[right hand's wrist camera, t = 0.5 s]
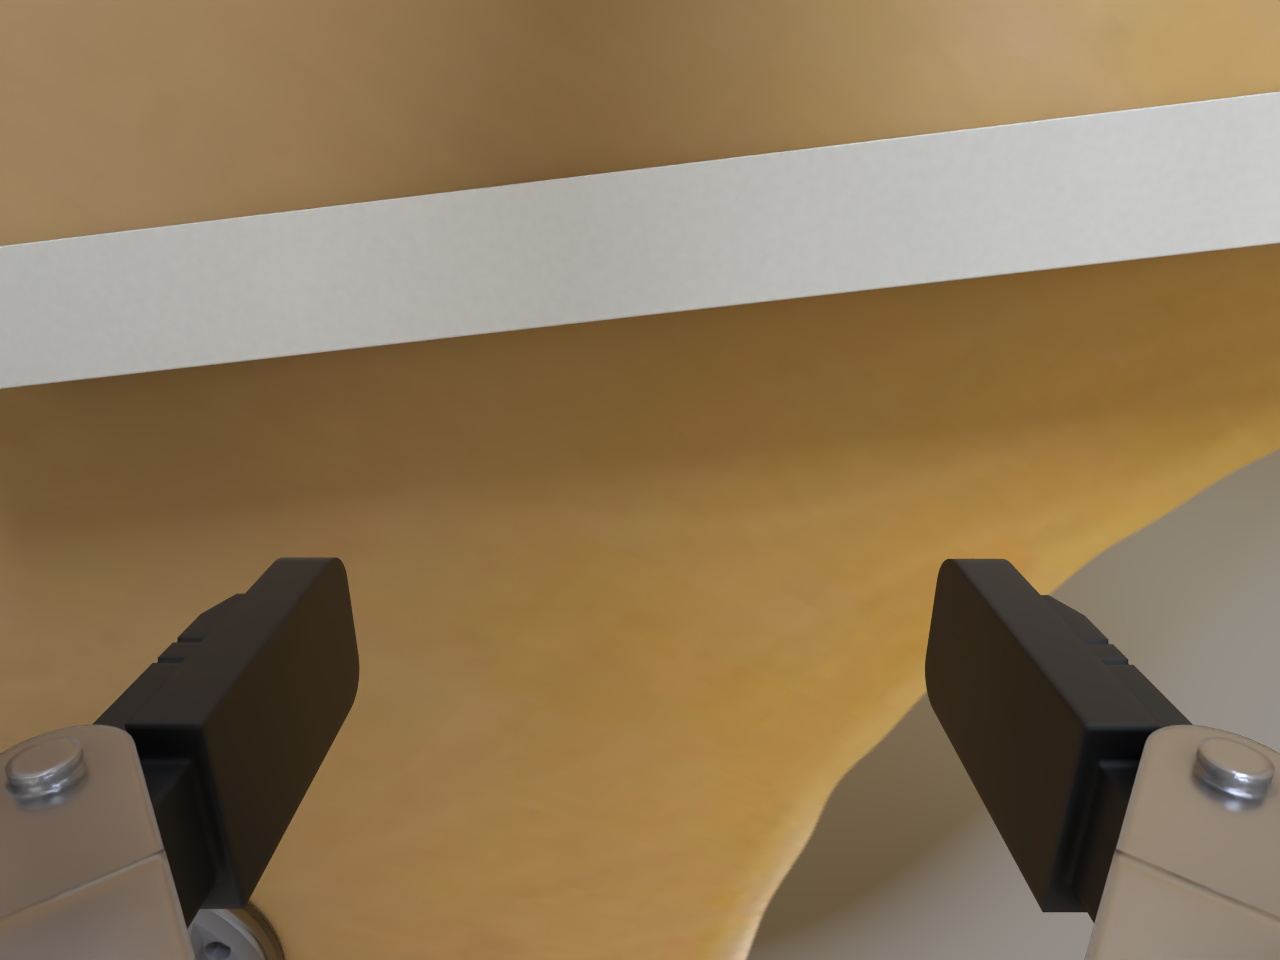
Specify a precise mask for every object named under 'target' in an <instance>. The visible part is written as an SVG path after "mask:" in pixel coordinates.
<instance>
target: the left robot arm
mask: <svg viewBox="0 0 1280 960" xmlns="http://www.w3.org/2000/svg"><path fill="white" fill-rule="evenodd" d="M187 930H188V934H189V938H190V941H191V945H192V948H193V952H194V955H195V959H196V960H284V959H283V955H282V951H281V949H280V946H279V944H278V941H277V939H276V937H275V936H274V934H273V932H272V930H271V929H270V928H269V926H268V925H267V923H266V922H265V921H264V920H263V918H262V917H261V916H260V915H259V914H258V913H257V912H256V911H255V910H254V909H253V908H252V907H251V906H250V905H249V904H248V903H247V904H246V906H245V908H244V909H199V911H198V913H197V914H196V916H195V918H194V919H193V921H192V923H191V924H190V926H189V928H188V929H187Z"/></svg>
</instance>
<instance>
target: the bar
mask: <svg viewBox="0 0 1280 960" xmlns="http://www.w3.org/2000/svg"><path fill="white" fill-rule="evenodd" d="M1278 243H1280V92H1272V93H1264V94H1256V95H1247V96H1239V97H1231V98H1222V99H1214V100H1206V101H1198V102H1189V103H1181V104H1173V105H1165V106H1156V107H1148V108H1140V109H1131V110H1123V111H1115V112H1107V113H1098V114H1090V115H1082V116H1073V117H1065V118H1057V119H1049V120H1040V121H1032V122H1024V123H1016V124H1007V125H999V126H991V127H982V128H974V129H966V130H958V131H949V132H941V133H933V134H924V135H916V136H908V137H900V138H891V139H883V140H875V141H867V142H858V143H850V144H842V145H833V146H825V147H817V148H809V149H800V150H792V151H784V152H775V153H767V154H759V155H751V156H742V157H734V158H726V159H718V160H709V161H701V162H693V163H684V164H676V165H668V166H660V167H651V168H643V169H635V170H626V171H618V172H610V173H602V174H593V175H585V176H577V177H569V178H560V179H552V180H544V181H535V182H527V183H519V184H511V185H502V186H494V187H486V188H477V189H469V190H461V191H453V192H444V193H436V194H428V195H420V196H411V197H403V198H395V199H386V200H378V201H370V202H362V203H353V204H345V205H337V206H328V207H320V208H312V209H304V210H295V211H287V212H279V213H271V214H262V215H254V216H246V217H237V218H229V219H221V220H213V221H204V222H196V223H188V224H180V225H171V226H163V227H155V228H146V229H138V230H130V231H122V232H113V233H105V234H97V235H88V236H80V237H72V238H64V239H55V240H47V241H39V242H31V243H22V244H14V245H6V246H0V389H5V388H14V387H22V386H31V385H40V384H49V383H57V382H66V381H75V380H84V379H93V378H101V377H110V376H119V375H128V374H136V373H145V372H154V371H163V370H172V369H180V368H189V367H198V366H207V365H215V364H224V363H233V362H242V361H251V360H259V359H268V358H277V357H286V356H295V355H303V354H312V353H321V352H330V351H338V350H347V349H356V348H365V347H374V346H382V345H391V344H400V343H409V342H417V341H426V340H435V339H444V338H453V337H461V336H470V335H479V334H488V333H496V332H505V331H514V330H523V329H532V328H540V327H549V326H558V325H567V324H576V323H584V322H593V321H602V320H611V319H619V318H628V317H637V316H646V315H655V314H663V313H672V312H681V311H690V310H698V309H707V308H716V307H725V306H734V305H742V304H751V303H760V302H769V301H777V300H786V299H795V298H804V297H813V296H821V295H830V294H839V293H848V292H857V291H865V290H874V289H883V288H892V287H900V286H909V285H918V284H927V283H936V282H944V281H953V280H962V279H971V278H979V277H988V276H997V275H1006V274H1015V273H1023V272H1032V271H1041V270H1050V269H1058V268H1067V267H1076V266H1085V265H1094V264H1102V263H1111V262H1120V261H1129V260H1138V259H1146V258H1155V257H1164V256H1173V255H1181V254H1190V253H1199V252H1208V251H1217V250H1225V249H1234V248H1243V247H1252V246H1260V245H1269V244H1278Z"/></svg>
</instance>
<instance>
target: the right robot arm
mask: <svg viewBox="0 0 1280 960" xmlns="http://www.w3.org/2000/svg"><path fill="white" fill-rule="evenodd" d="M925 679H926V687H927V692H928V697H929V700H930V703H931V706H932V708H933V710H934V712H935V714H936V716H937V717H938V719H939V721H940V723H941V725H942V727H943V728H944V730H945V732H946V734H947V736H948V738H949V740H950V741H951V743H952V745H953V747H954V749H955V751H956V753H957V754H958V756H959V758H960V760H961V762H962V764H963V765H964V767H965V769H966V771H967V773H968V775H969V776H970V778H971V780H972V782H973V784H974V786H975V788H976V790H977V791H978V793H979V795H980V797H981V799H982V801H983V802H984V804H985V806H986V808H987V810H988V812H989V813H990V815H991V817H992V819H993V821H994V823H995V825H996V827H997V828H998V830H999V832H1000V834H1001V836H1002V838H1003V839H1004V841H1005V843H1006V845H1007V847H1008V849H1009V851H1010V852H1011V854H1012V856H1013V858H1014V860H1015V862H1016V863H1017V865H1018V867H1019V869H1020V871H1021V873H1022V875H1023V876H1024V878H1025V880H1026V882H1027V884H1028V886H1029V888H1030V889H1031V891H1032V893H1033V895H1034V897H1035V899H1036V900H1037V902H1038V904H1039V906H1040V908H1041V910H1042V911H1043V912H1088V914H1089V916H1090V917H1091V919H1092V921H1093V922H1094V927H1093V930H1092V934H1091V938H1090V941H1089V945H1088V948H1087V952H1086V955H1085V959H1084V960H1280V753H1278V752H1277V751H1275V750H1273V749H1271V748H1269V747H1267V746H1265V745H1263V744H1261V743H1258V742H1256V741H1254V740H1252V739H1249V738H1246V737H1244V736H1241V735H1238V734H1235V733H1232V732H1228V731H1225V730H1221V729H1216V728H1211V727H1206V726H1198V725H1192V724H1191V722H1190V721H1189V720H1188V719H1186V717H1185V716H1184V715H1183V714H1182V713H1181V712H1180V711H1179V710H1178V709H1177V708H1176V707H1175V706H1174V705H1173V704H1172V703H1171V702H1170V701H1169V700H1168V699H1167V698H1166V697H1165V696H1164V695H1163V694H1162V693H1161V692H1160V691H1159V690H1158V689H1157V688H1156V687H1155V686H1154V685H1153V684H1152V683H1151V682H1150V681H1149V680H1148V679H1147V678H1146V677H1145V676H1144V675H1143V674H1142V673H1141V672H1140V671H1139V670H1138V669H1137V668H1136V667H1135V666H1134V665H1129V664H1128V659H1127V658H1126V657H1125V656H1124V655H1123V654H1122V653H1121V652H1120V651H1119V650H1118V649H1117V648H1116V647H1115V646H1114V645H1113V644H1109V643H1108V639H1107V638H1106V637H1105V636H1104V635H1103V634H1102V633H1101V632H1100V631H1099V630H1098V629H1097V628H1096V627H1095V626H1094V625H1093V624H1092V623H1091V622H1090V621H1089V620H1088V619H1087V618H1086V617H1085V616H1084V615H1083V614H1081V613H1079V612H1077V611H1075V610H1074V609H1072V608H1070V607H1068V606H1067V605H1065V604H1063V603H1061V602H1059V601H1058V600H1056V599H1054V598H1052V597H1051V596H1049V595H1040V594H1039V593H1038V592H1037V591H1036V590H1035V589H1034V588H1033V587H1032V586H1031V585H1030V583H1029V582H1028V581H1027V580H1026V579H1025V578H1024V577H1023V576H1022V575H1021V574H1020V573H1019V572H1018V571H1017V570H1016V569H1015V567H1014V566H1013V565H1012V564H1011V563H1010V562H1009V561H1007V560H1005V559H947V560H945V561H944V562H943V564H942V565H941V567H940V570H939V573H938V578H937V585H936V591H935V598H934V605H933V612H932V619H931V626H930V633H929V639H928V646H927V653H926V661H925ZM358 681H359V657H358V649H357V642H356V635H355V629H354V622H353V615H352V608H351V601H350V594H349V587H348V580H347V574H346V570H345V567H344V565H343V563H342V561H341V560H340V559H338V558H279V559H277V560H276V561H275V562H274V563H273V564H272V565H271V566H270V567H269V568H268V569H267V571H266V572H265V573H264V574H263V575H262V576H261V577H260V578H259V579H258V580H257V581H256V582H255V584H254V585H253V586H252V587H251V588H250V589H249V590H248V591H247V592H246V593H245V594H236V595H234V596H232V597H230V598H229V599H227V600H225V601H223V602H221V603H220V604H218V605H216V606H214V607H213V608H211V609H209V610H207V611H206V612H204V613H202V614H201V615H200V616H199V617H198V618H197V619H196V620H195V621H194V622H193V623H192V624H191V625H190V626H189V627H188V628H187V629H186V630H185V631H184V632H183V633H182V634H181V635H180V636H179V637H178V641H177V643H172V644H171V645H170V646H169V647H168V648H167V649H166V650H165V651H164V652H163V653H162V654H161V655H160V656H159V657H158V663H152V664H151V665H150V666H149V667H148V669H147V670H146V671H145V672H144V673H143V674H142V675H141V676H140V677H139V678H138V679H137V680H136V681H135V682H134V683H133V684H132V685H131V686H130V687H129V688H128V689H127V690H126V691H125V692H124V693H123V694H122V695H121V696H120V697H119V698H118V699H117V700H116V701H115V702H114V703H113V704H112V705H111V706H110V707H109V708H108V709H107V710H106V711H105V712H104V713H103V714H102V715H101V716H100V717H99V718H98V719H97V720H96V721H95V722H94V723H93V724H92V725H82V726H74V727H69V728H64V729H59V730H55V731H52V732H48V733H45V734H42V735H39V736H36V737H34V738H31V739H28V740H26V741H24V742H22V743H19V744H17V745H15V746H13V747H11V748H9V749H7V750H5V751H3V752H2V753H0V960H196V959H195V955H194V952H193V948H192V945H191V941H190V938H189V934H188V930H187V929H188V928H189V926H190V924H191V923H192V921H193V919H194V918H195V916H196V914H197V913H198V911H199V909H244V908H245V906H246V904H247V902H248V900H249V898H250V896H251V895H252V893H253V891H254V889H255V887H256V885H257V883H258V881H259V880H260V878H261V876H262V874H263V872H264V870H265V868H266V866H267V865H268V863H269V861H270V859H271V857H272V855H273V853H274V851H275V850H276V848H277V846H278V844H279V842H280V840H281V838H282V836H283V835H284V833H285V831H286V829H287V827H288V825H289V823H290V821H291V820H292V818H293V816H294V814H295V812H296V810H297V808H298V807H299V805H300V803H301V801H302V799H303V797H304V795H305V793H306V792H307V790H308V788H309V786H310V784H311V782H312V780H313V778H314V777H315V775H316V773H317V771H318V769H319V767H320V765H321V763H322V762H323V760H324V758H325V756H326V754H327V752H328V750H329V748H330V747H331V745H332V743H333V741H334V739H335V737H336V735H337V734H338V732H339V730H340V728H341V726H342V724H343V722H344V720H345V719H346V717H347V715H348V713H349V711H350V709H351V707H352V705H353V703H354V700H355V696H356V693H357V688H358Z"/></svg>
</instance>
